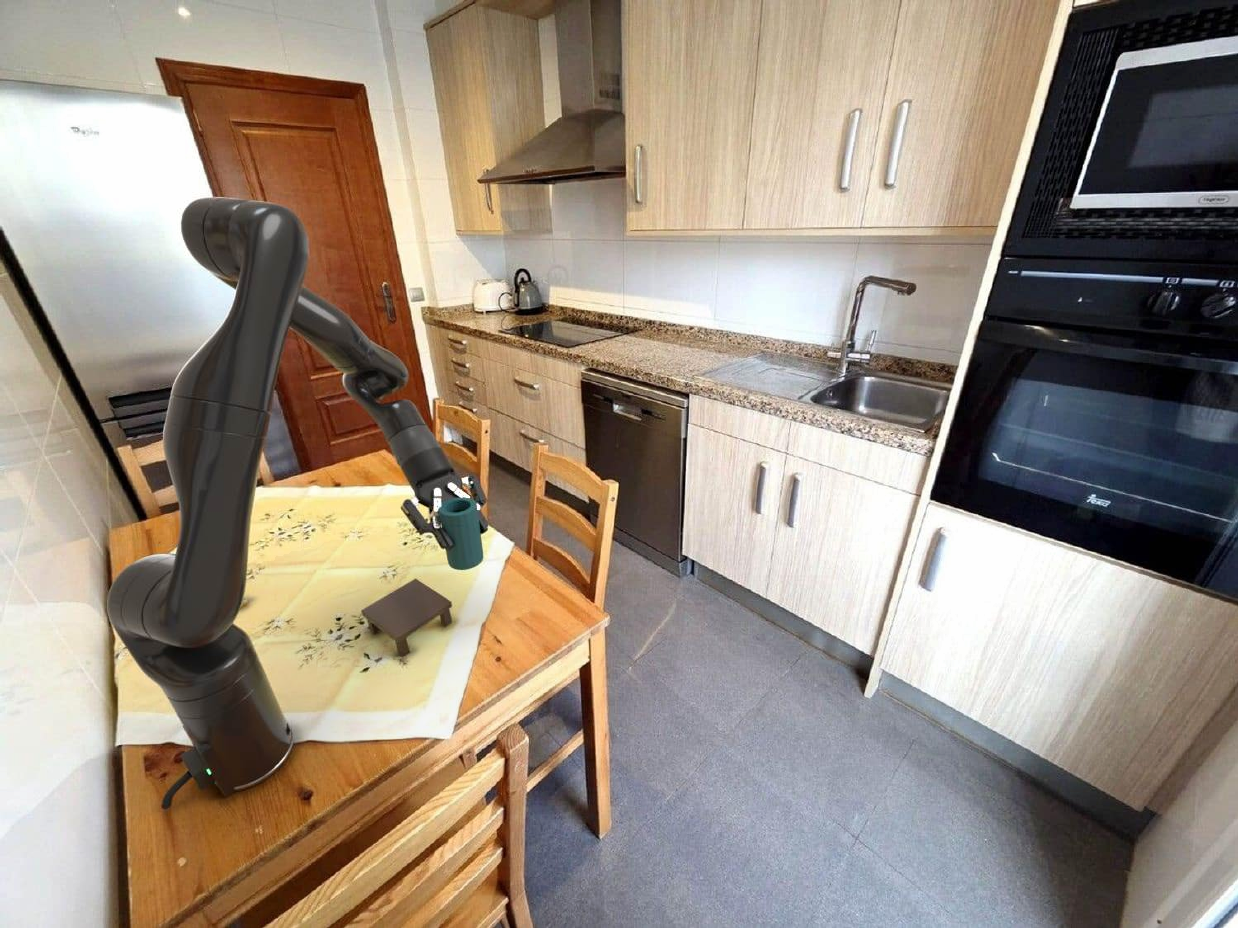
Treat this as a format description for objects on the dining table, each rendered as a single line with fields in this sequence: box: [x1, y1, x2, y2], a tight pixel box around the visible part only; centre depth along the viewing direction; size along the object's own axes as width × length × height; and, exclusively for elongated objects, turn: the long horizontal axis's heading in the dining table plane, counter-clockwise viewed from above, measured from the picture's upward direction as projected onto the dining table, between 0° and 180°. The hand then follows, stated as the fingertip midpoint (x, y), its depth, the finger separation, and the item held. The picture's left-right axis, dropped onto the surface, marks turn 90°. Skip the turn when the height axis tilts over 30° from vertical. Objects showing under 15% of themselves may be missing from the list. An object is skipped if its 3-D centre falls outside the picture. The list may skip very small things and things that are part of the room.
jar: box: [439, 497, 484, 571], centre depth 86 cm, size 6×6×11 cm
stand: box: [360, 578, 453, 658], centre depth 91 cm, size 11×11×5 cm
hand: (468, 540), depth 85 cm, fingers closed on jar, 6 cm apart
